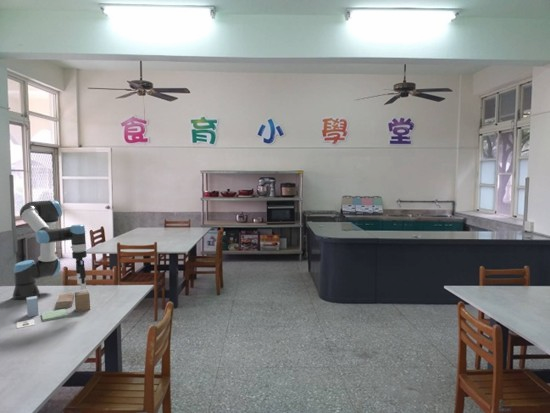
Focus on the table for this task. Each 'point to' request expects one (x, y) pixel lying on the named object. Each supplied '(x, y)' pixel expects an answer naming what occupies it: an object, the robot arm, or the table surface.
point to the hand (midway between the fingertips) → (81, 286)
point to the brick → (65, 300)
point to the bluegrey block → (32, 306)
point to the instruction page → (25, 323)
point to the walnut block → (82, 301)
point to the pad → (54, 314)
